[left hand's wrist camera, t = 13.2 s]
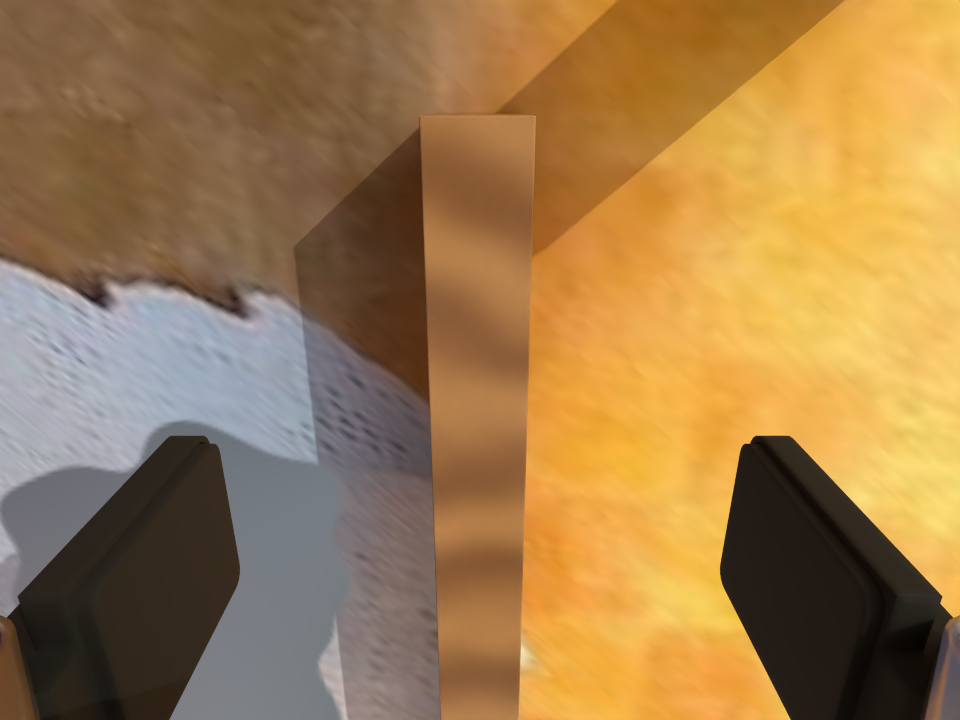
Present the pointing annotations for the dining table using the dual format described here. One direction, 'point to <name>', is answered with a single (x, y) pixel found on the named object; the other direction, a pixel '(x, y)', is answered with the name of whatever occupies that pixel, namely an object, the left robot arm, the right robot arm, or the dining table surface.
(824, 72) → the dining table surface
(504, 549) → the post
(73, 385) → the dining table surface
